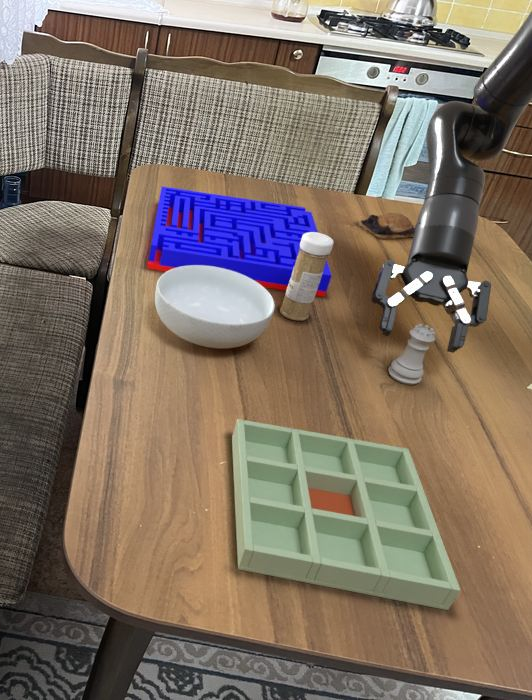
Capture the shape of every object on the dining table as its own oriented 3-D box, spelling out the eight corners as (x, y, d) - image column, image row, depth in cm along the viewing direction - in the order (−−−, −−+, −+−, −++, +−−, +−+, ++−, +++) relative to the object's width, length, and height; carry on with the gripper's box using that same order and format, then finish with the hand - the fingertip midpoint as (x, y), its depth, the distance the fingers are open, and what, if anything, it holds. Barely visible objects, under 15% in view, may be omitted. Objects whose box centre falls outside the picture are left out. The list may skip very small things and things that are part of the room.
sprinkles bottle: (277, 305, 111) (300, 229, 103) (306, 309, 110) (331, 233, 103) (281, 319, 107) (305, 241, 99) (310, 324, 106) (337, 246, 99)
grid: (399, 467, 80) (408, 448, 79) (448, 610, 64) (461, 590, 63) (231, 437, 82) (237, 418, 81) (237, 569, 66) (245, 549, 64)
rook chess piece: (411, 390, 94) (434, 342, 89) (381, 374, 96) (402, 326, 92) (425, 378, 97) (448, 331, 92) (395, 363, 99) (416, 317, 95)
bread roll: (396, 221, 146) (402, 205, 144) (423, 238, 140) (430, 221, 138) (354, 222, 143) (360, 206, 141) (380, 239, 137) (386, 222, 135)
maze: (324, 296, 114) (331, 275, 112) (147, 268, 117) (150, 247, 115) (304, 226, 139) (310, 208, 137) (158, 204, 142) (161, 186, 140)
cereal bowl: (146, 355, 95) (154, 312, 91) (151, 297, 109) (158, 258, 105) (269, 373, 94) (282, 330, 90) (257, 313, 108) (269, 273, 104)
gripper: (398, 213, 94) (371, 322, 91) (511, 235, 91) (486, 350, 88) (383, 234, 101) (358, 336, 99) (487, 256, 98) (464, 362, 95)
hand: (419, 342), depth 93 cm, fingers open, 8 cm apart
